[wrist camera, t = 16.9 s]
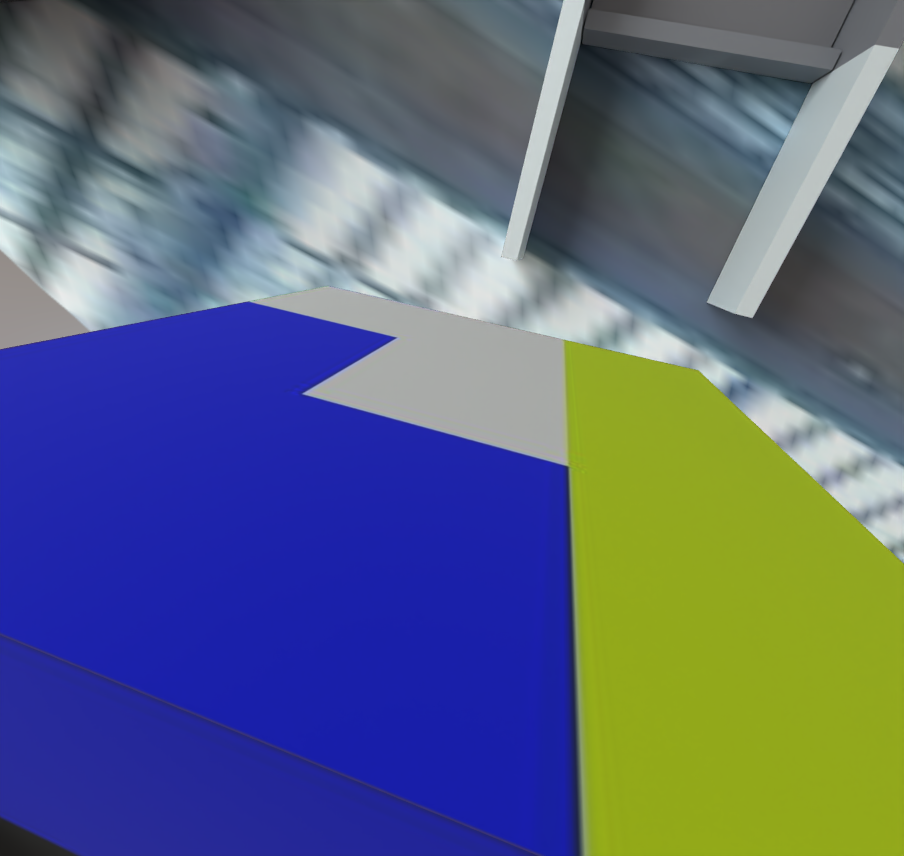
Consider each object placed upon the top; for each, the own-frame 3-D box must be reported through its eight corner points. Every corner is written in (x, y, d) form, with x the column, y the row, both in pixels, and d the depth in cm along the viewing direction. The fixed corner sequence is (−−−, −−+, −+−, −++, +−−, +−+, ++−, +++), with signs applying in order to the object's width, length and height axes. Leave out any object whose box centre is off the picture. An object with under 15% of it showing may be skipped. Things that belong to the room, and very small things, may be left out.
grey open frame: (631, -229, 20) (653, -366, 15) (975, -198, 18) (1113, -345, 13) (509, 254, 30) (501, 257, 25) (721, 305, 28) (752, 318, 23)
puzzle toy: (328, 285, 11) (-471, 440, 3) (698, 370, 10) (1732, 1345, 1) (320, 549, 16) (20, 932, 7) (574, 632, 14) (594, 1238, 6)
